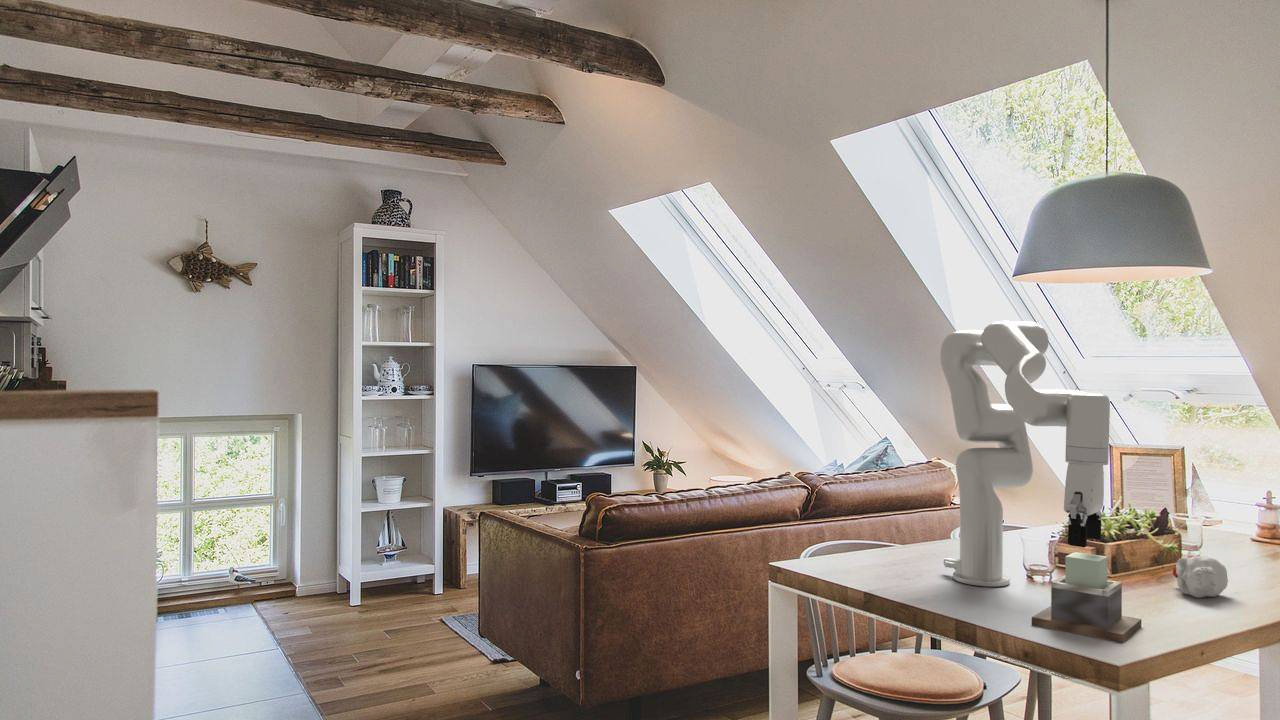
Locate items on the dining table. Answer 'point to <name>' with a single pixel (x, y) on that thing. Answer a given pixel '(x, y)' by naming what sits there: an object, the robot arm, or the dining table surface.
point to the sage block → (1086, 570)
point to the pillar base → (1089, 630)
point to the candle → (1200, 576)
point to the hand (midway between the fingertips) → (1084, 542)
